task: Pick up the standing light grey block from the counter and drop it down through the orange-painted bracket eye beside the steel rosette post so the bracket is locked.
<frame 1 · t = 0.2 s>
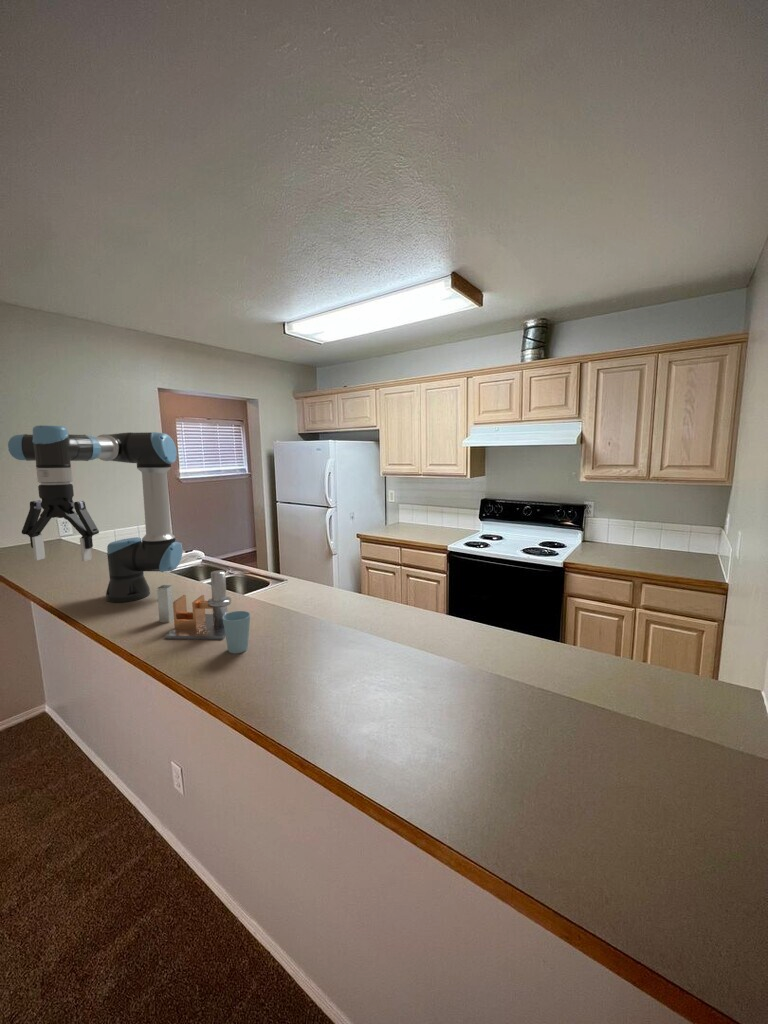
hand: (63, 559, 119), 28 cm above the counter, fingers open, 13 cm apart
cup: (238, 649, 126), on the counter
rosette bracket: (190, 627, 141), on the counter
light grey block: (167, 620, 147), on the counter
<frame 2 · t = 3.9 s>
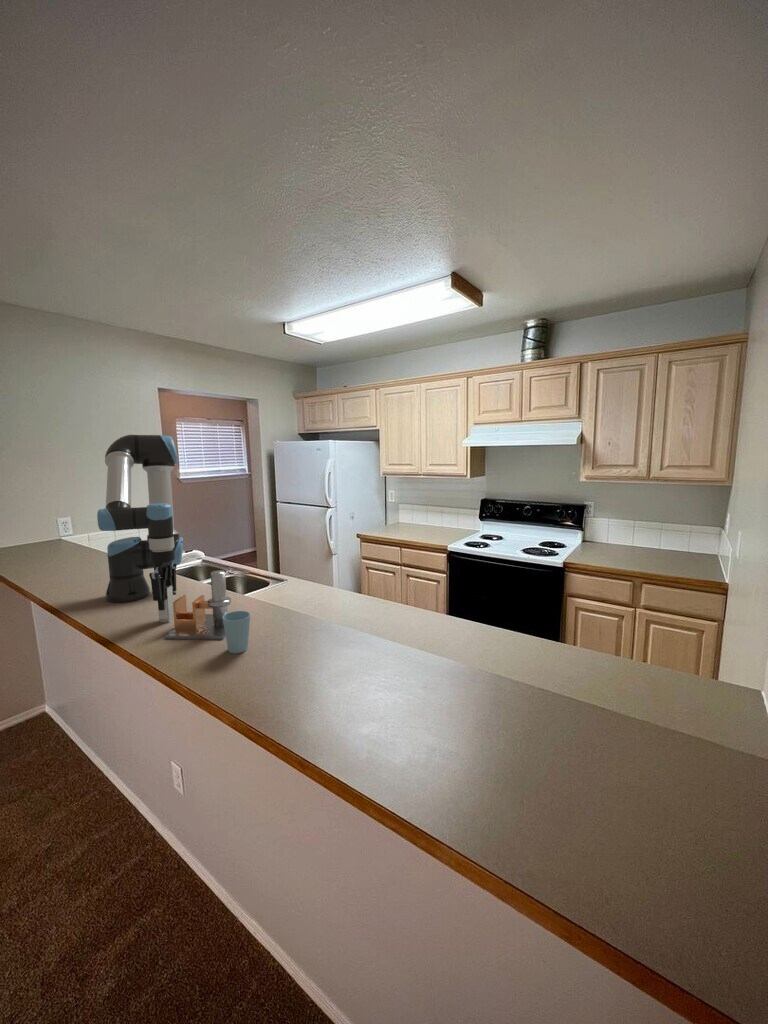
hand: (166, 615, 147), 2 cm above the counter, fingers closed on light grey block, 3 cm apart
light grey block: (167, 620, 147), on the counter, touching gripper
everything else where it was.
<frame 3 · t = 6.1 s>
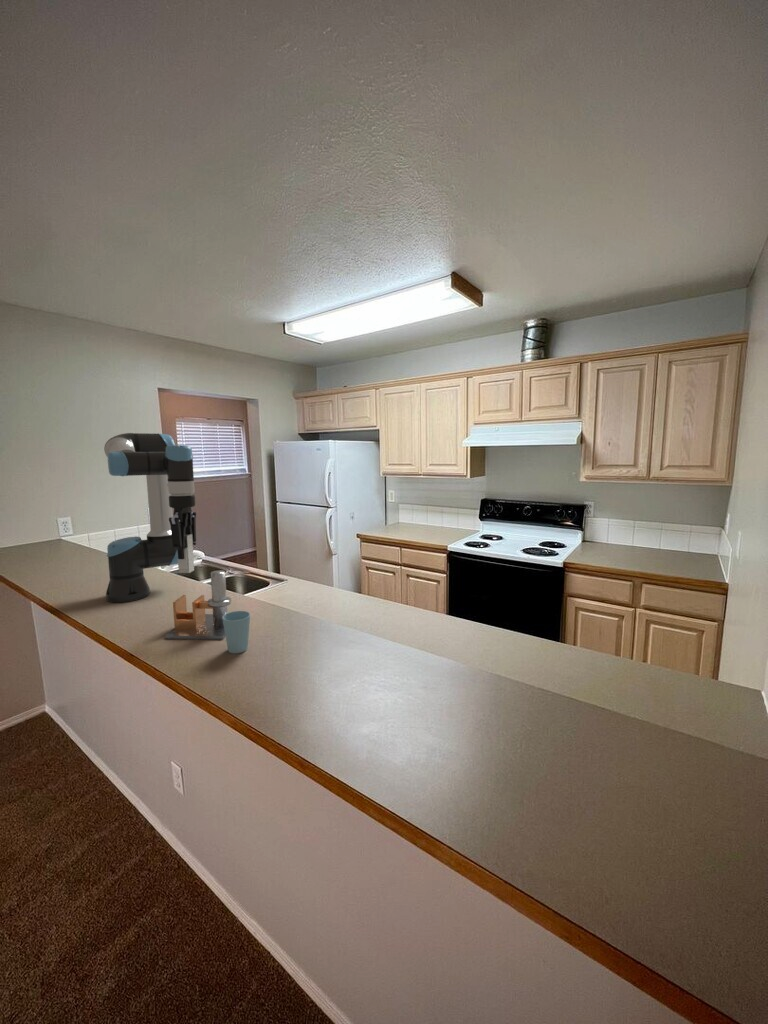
hand: (186, 566, 138), 21 cm above the counter, fingers closed on light grey block, 3 cm apart
light grey block: (186, 571, 138), point 19 cm above the counter, touching gripper
everything else where it was.
when the fingers open (7 cm above the counter, at t = 8.4 s): light grey block drops 4 cm, resting on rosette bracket.
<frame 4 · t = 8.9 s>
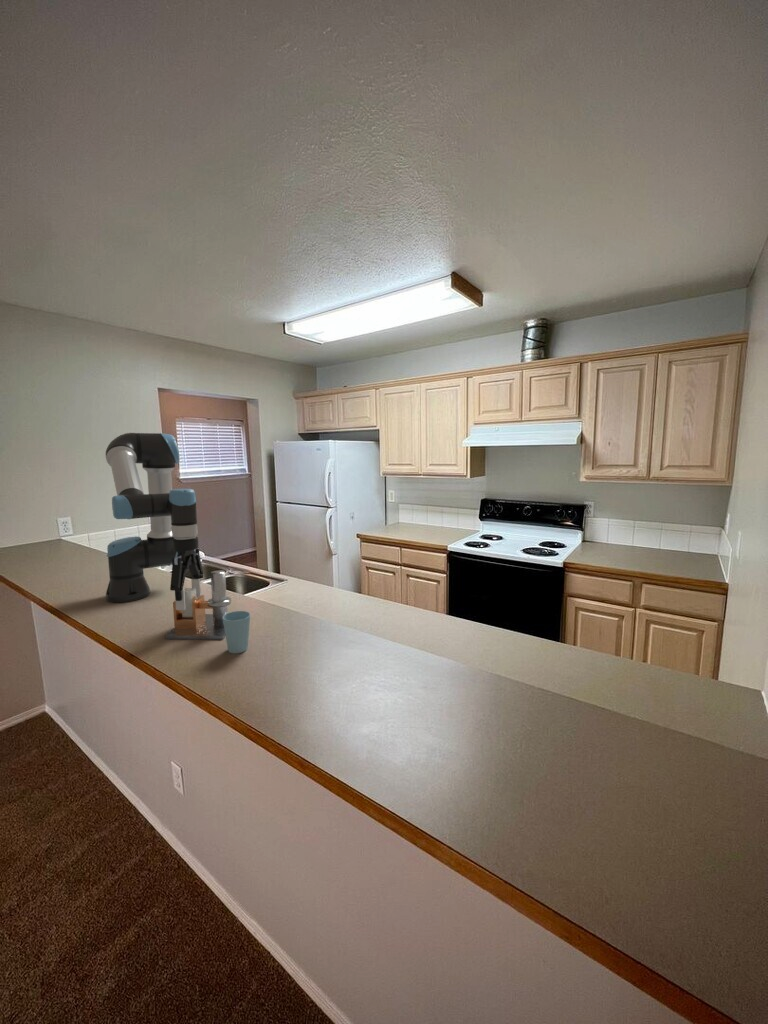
hand: (189, 603, 140), 8 cm above the counter, fingers open, 10 cm apart
light grey block: (190, 624, 141), point 1 cm above the counter, touching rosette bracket
everything else where it was.
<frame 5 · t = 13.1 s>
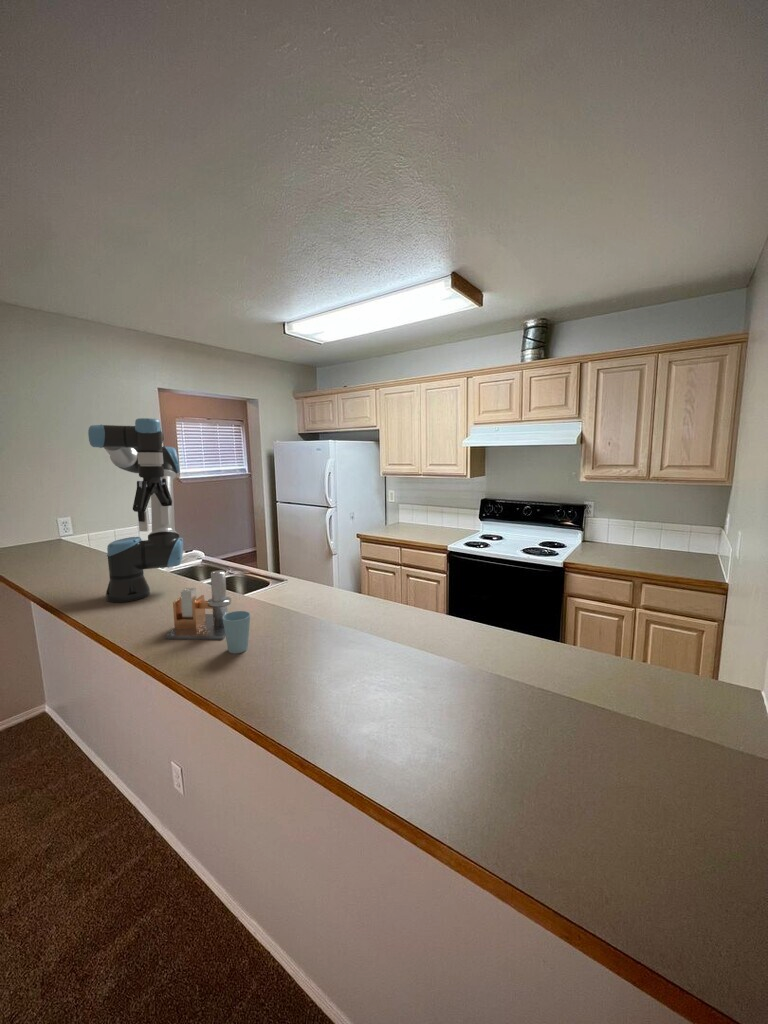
hand: (155, 527, 146), 32 cm above the counter, fingers open, 13 cm apart
nothing on the counter moved.
at the end: light grey block 0.0 cm off-centre on the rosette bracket, point 1.0 cm above the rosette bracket's base; light grey block tilted 0°; the gripper is holding nothing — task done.
